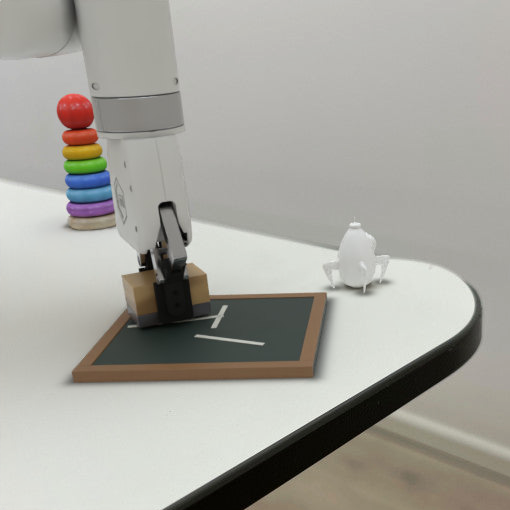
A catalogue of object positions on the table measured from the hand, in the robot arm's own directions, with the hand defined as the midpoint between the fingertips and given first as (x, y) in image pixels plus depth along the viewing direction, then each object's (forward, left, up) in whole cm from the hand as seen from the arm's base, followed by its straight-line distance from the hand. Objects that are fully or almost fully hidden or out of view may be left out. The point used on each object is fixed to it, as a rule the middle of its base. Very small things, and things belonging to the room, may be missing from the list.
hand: (168, 310), depth 74 cm
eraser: (0, 0, 0) cm, 0 cm away
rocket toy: (+18, +11, -2) cm, 21 cm away
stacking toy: (-22, +43, -2) cm, 48 cm away
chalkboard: (+5, -3, -2) cm, 6 cm away
